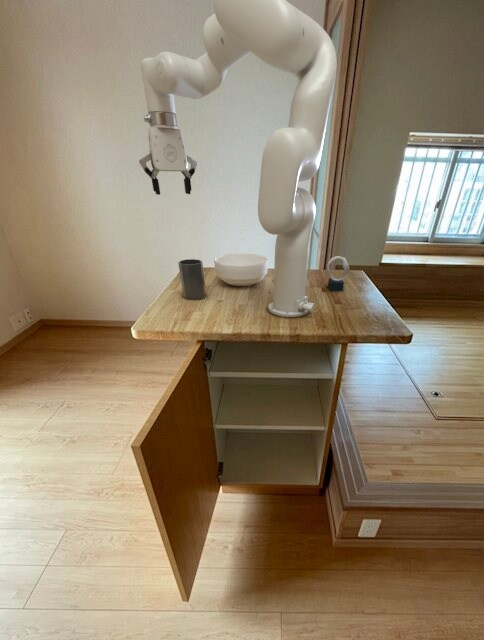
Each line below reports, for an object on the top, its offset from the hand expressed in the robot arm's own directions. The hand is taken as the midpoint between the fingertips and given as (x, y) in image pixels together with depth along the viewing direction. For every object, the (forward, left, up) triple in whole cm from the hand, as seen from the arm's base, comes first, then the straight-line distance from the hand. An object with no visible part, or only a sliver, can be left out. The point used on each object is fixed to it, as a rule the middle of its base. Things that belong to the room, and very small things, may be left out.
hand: (173, 194), depth 99 cm
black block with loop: (-45, -33, -28) cm, 62 cm away
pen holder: (-12, +6, -28) cm, 31 cm away
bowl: (-14, -16, -28) cm, 35 cm away
